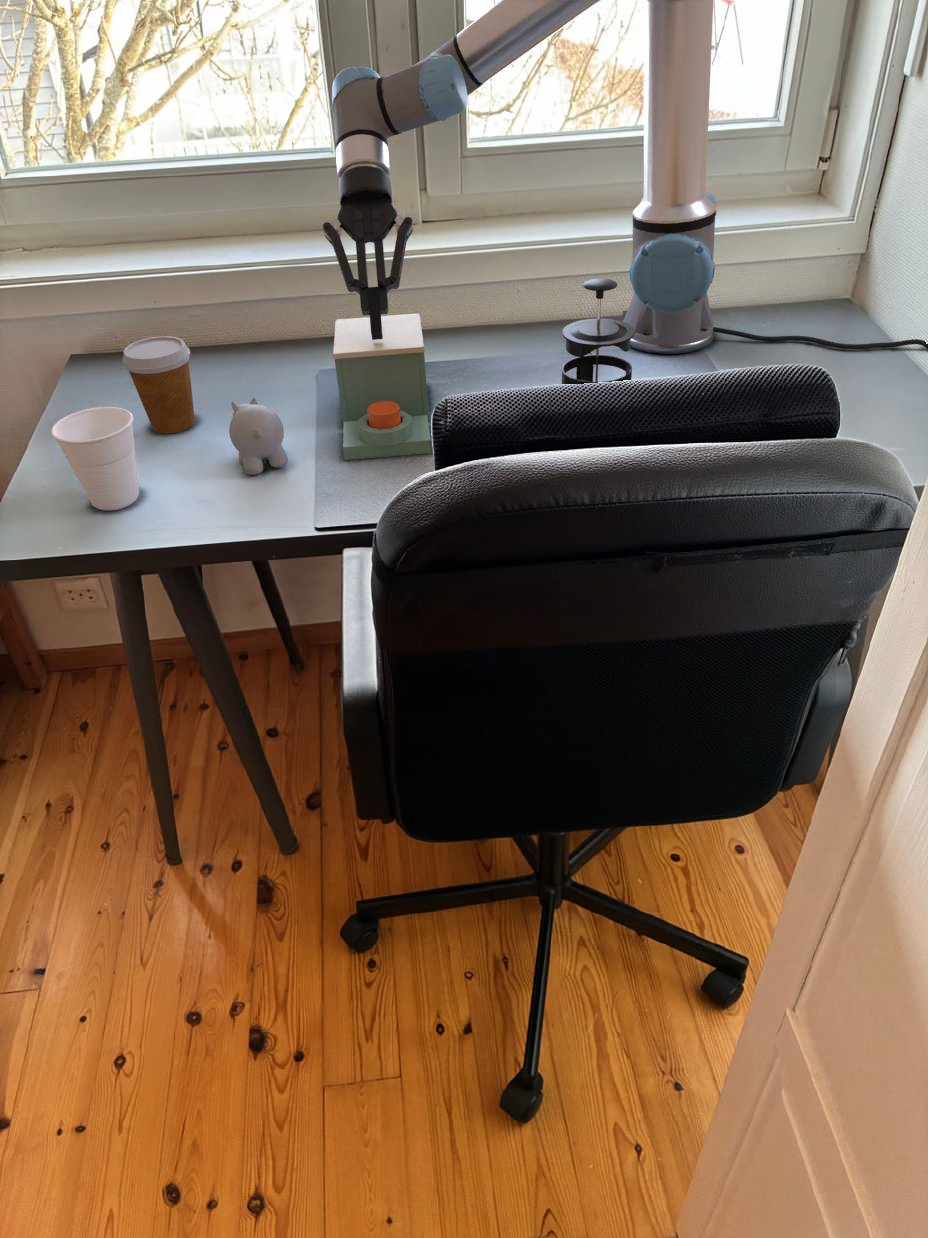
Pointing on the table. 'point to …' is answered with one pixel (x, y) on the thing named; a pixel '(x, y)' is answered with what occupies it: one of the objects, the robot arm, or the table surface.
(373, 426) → the button
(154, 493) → the table surface
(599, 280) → the french press
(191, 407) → the disposable coffee cup
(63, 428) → the cup
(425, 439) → the control block
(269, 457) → the round bodied animal figurine
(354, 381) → the coffee maker
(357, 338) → the lid
